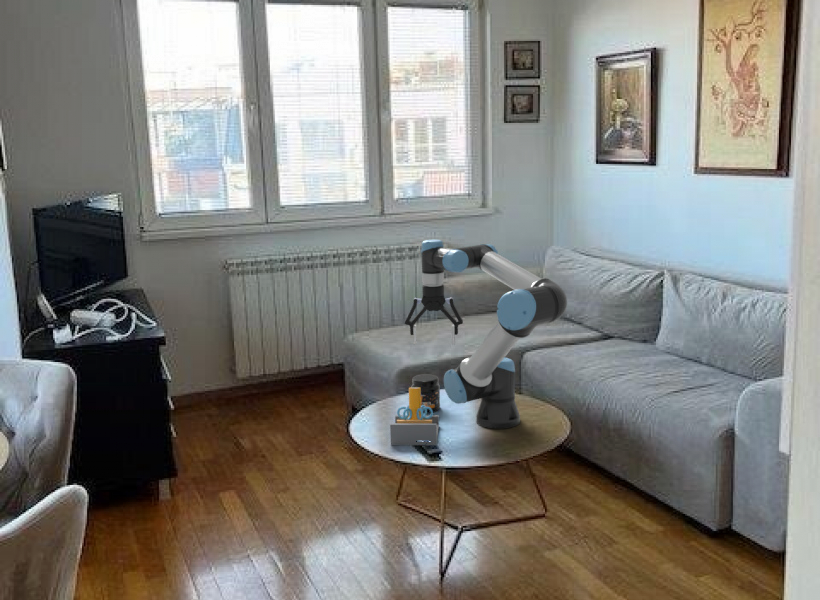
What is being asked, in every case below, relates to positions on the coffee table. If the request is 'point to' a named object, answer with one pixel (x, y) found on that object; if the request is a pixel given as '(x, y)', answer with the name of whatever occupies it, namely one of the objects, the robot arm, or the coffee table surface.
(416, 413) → the cylinder
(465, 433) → the coffee table surface
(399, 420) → the bar
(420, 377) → the supplement container
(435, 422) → the frame
